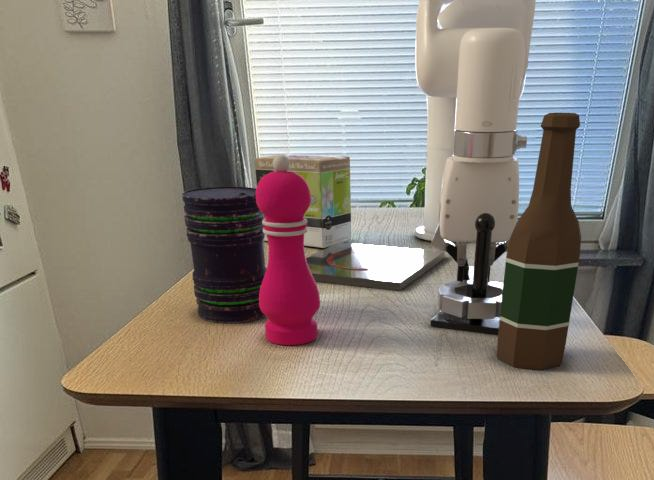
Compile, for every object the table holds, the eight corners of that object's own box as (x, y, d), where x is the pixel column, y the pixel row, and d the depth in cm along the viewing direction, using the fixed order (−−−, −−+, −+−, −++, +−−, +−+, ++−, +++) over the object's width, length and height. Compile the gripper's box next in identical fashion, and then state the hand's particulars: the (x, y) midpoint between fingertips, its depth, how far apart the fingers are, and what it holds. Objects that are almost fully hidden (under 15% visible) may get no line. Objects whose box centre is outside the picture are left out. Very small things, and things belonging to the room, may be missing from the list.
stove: (339, 249, 122) (339, 241, 122) (444, 258, 115) (445, 250, 115) (280, 277, 105) (280, 269, 104) (399, 290, 98) (400, 281, 98)
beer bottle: (486, 347, 78) (509, 111, 65) (552, 344, 78) (587, 110, 66) (505, 372, 71) (534, 115, 59) (576, 369, 72) (619, 114, 59)
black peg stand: (452, 305, 92) (458, 204, 85) (521, 313, 88) (533, 209, 82) (430, 326, 84) (435, 217, 78) (504, 335, 81) (517, 222, 74)
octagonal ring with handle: (522, 319, 81) (524, 303, 80) (440, 318, 82) (441, 302, 81) (505, 280, 96) (506, 266, 95) (435, 280, 96) (436, 266, 95)
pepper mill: (312, 349, 77) (304, 158, 67) (253, 345, 79) (236, 157, 68) (327, 329, 84) (322, 151, 73) (272, 325, 85) (259, 151, 74)
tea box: (353, 240, 129) (352, 155, 121) (323, 250, 121) (320, 160, 114) (290, 232, 136) (286, 151, 128) (259, 241, 128) (252, 156, 121)
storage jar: (182, 318, 88) (164, 196, 80) (222, 298, 95) (209, 185, 88) (248, 326, 84) (236, 200, 77) (284, 305, 92) (276, 188, 85)
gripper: (542, 143, 86) (524, 285, 96) (420, 143, 87) (415, 284, 97) (552, 150, 80) (532, 301, 90) (421, 150, 81) (415, 300, 91)
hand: (471, 292), depth 93 cm, fingers closed on octagonal ring with handle, 1 cm apart
